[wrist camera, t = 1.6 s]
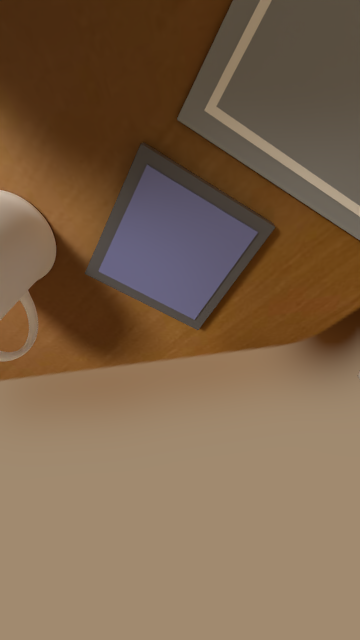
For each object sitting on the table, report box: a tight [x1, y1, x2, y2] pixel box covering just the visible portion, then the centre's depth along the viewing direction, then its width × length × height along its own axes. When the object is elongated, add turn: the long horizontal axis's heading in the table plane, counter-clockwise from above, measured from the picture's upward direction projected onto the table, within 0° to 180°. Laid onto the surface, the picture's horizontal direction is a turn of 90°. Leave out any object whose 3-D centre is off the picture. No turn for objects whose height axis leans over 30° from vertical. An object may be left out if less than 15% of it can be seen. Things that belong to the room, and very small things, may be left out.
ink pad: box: [85, 142, 275, 330], centre depth 28 cm, size 12×12×1 cm
